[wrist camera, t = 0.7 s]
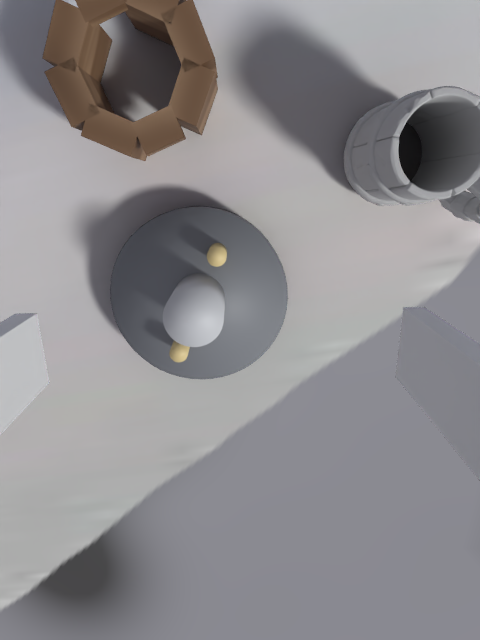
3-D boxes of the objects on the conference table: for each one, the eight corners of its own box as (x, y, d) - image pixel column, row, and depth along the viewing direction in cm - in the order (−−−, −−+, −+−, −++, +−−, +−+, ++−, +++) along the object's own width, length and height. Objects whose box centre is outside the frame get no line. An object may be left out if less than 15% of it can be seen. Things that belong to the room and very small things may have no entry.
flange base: (149, 177, 34) (124, 174, 26) (311, 246, 36) (332, 262, 28) (98, 334, 38) (64, 371, 31) (246, 388, 40) (249, 435, 33)
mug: (380, 83, 32) (460, 26, 21) (486, 175, 34) (611, 169, 23) (320, 168, 34) (363, 158, 23) (424, 250, 36) (511, 278, 25)
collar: (48, 39, 31) (14, 12, 26) (178, -27, 30) (167, -67, 25) (116, 179, 34) (96, 177, 29) (235, 124, 33) (235, 113, 28)
